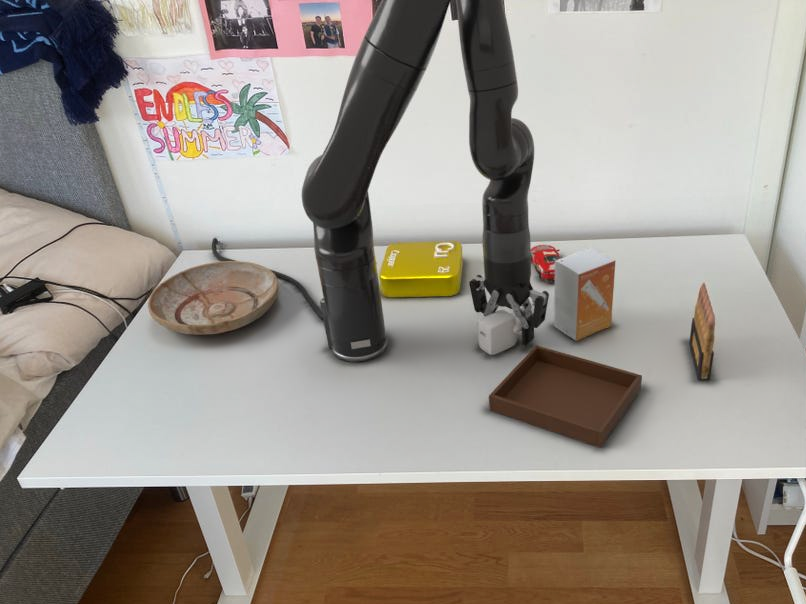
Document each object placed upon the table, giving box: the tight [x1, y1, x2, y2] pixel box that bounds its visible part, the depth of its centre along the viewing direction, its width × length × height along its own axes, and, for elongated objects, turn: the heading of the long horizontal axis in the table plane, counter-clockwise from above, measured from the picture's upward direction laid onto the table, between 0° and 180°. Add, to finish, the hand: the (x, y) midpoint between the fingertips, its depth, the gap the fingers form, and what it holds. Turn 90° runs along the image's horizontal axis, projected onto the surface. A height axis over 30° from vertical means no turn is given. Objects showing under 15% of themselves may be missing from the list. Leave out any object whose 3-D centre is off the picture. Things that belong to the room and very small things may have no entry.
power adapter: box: [477, 309, 523, 356], centre depth 132 cm, size 11×5×6 cm, turn 127°
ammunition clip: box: [688, 282, 716, 382], centre depth 122 cm, size 11×2×12 cm, turn 175°
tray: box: [488, 345, 643, 449], centre depth 119 cm, size 18×15×3 cm
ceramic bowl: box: [147, 260, 280, 336], centre depth 144 cm, size 23×24×5 cm
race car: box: [531, 244, 562, 283], centre depth 153 cm, size 13×5×4 cm, turn 9°
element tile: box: [378, 240, 464, 299], centre depth 152 cm, size 15×15×5 cm
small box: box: [553, 247, 616, 342], centre depth 132 cm, size 8×6×13 cm
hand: (510, 338), depth 133 cm, fingers closed on power adapter, 6 cm apart
